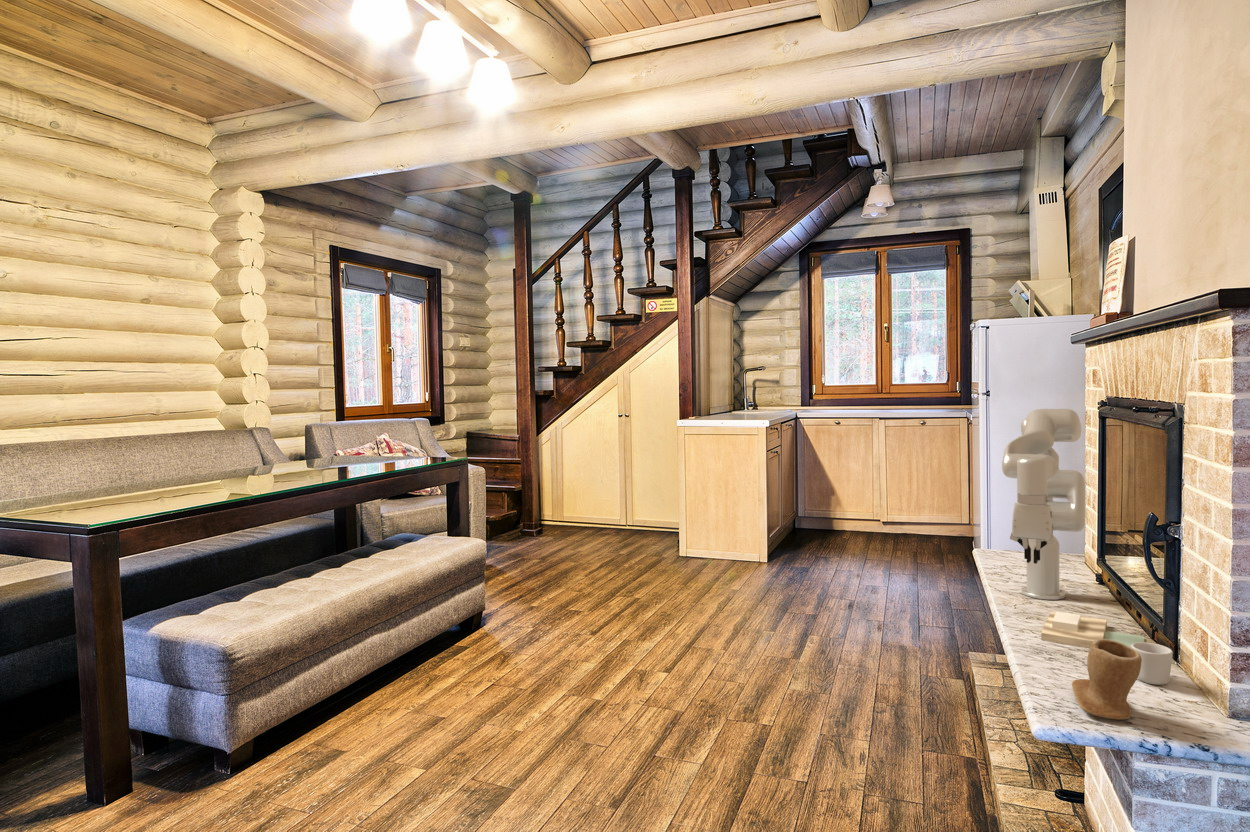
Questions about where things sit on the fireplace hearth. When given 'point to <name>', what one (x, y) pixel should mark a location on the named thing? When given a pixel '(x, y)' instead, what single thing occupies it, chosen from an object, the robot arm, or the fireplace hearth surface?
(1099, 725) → the fireplace hearth surface
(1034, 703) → the fireplace hearth surface
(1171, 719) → the fireplace hearth surface
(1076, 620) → the cream rectangular block
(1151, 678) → the cup
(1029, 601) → the fireplace hearth surface
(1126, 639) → the mat
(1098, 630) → the wavy wooden board
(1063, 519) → the robot arm
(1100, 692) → the brown hollow flared vessel
